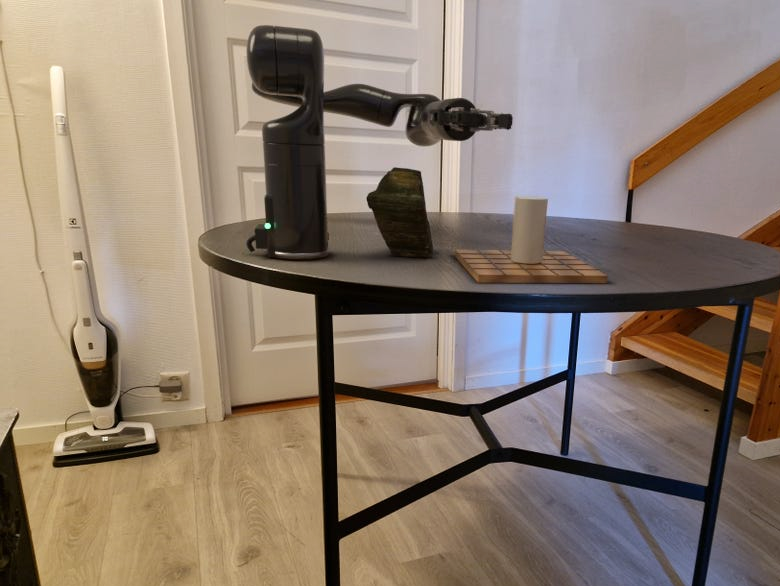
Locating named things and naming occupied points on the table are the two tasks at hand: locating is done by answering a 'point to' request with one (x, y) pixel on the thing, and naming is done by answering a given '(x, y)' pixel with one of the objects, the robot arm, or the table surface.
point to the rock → (402, 213)
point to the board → (527, 268)
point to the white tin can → (528, 229)
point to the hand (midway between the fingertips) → (487, 119)
